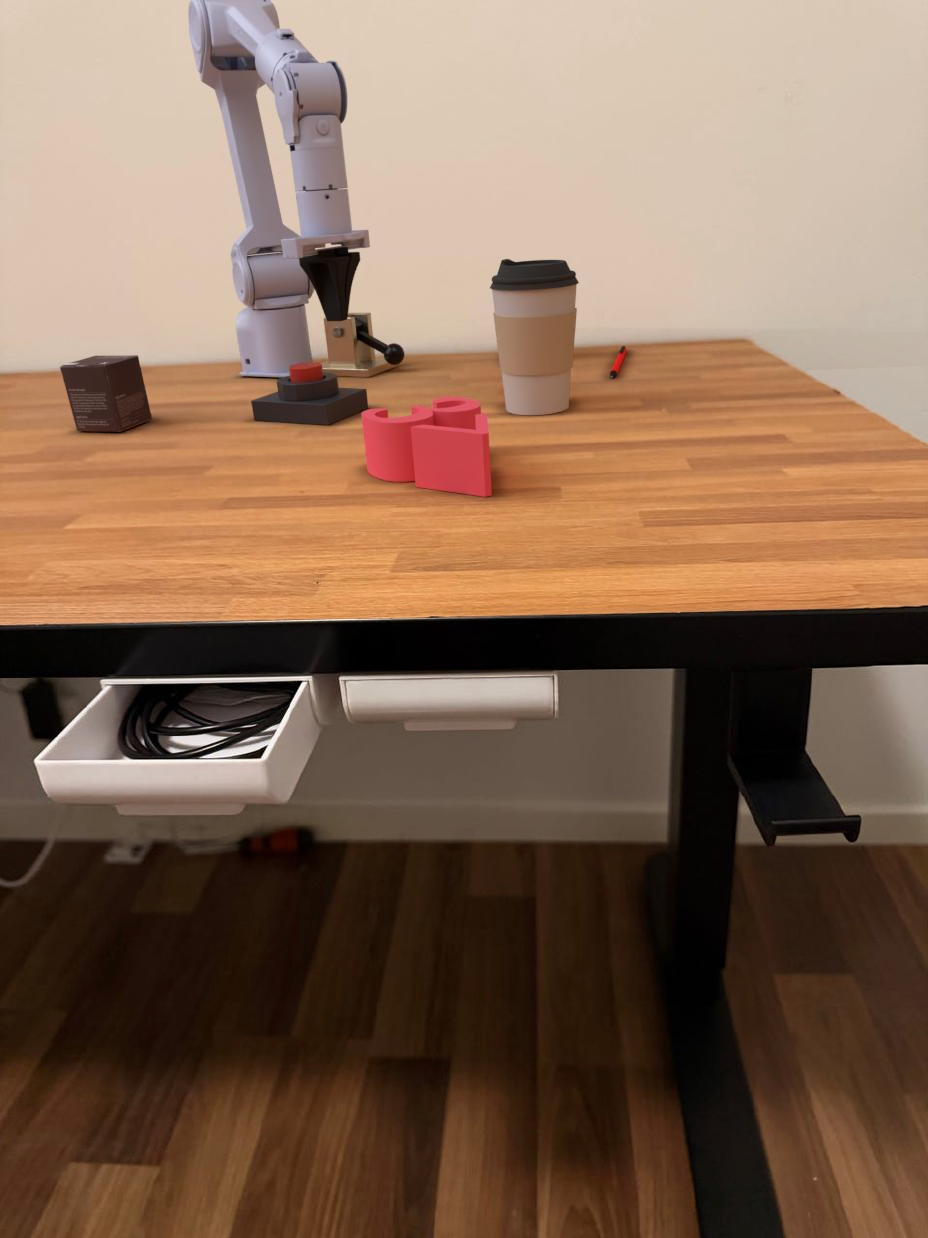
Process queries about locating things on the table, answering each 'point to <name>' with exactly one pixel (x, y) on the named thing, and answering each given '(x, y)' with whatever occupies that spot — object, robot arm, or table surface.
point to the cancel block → (310, 402)
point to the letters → (431, 446)
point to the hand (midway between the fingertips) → (337, 320)
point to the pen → (618, 362)
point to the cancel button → (306, 372)
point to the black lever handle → (381, 346)
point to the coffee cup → (535, 333)
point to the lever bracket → (351, 349)
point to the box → (106, 393)
